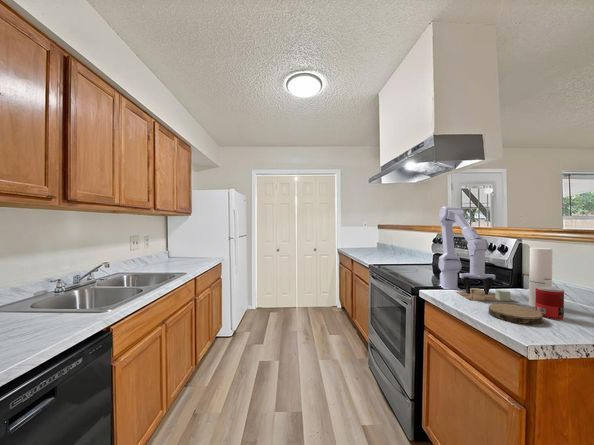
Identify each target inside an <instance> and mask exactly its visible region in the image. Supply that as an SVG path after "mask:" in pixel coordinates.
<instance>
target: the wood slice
mask: <svg viewBox="0 0 594 445" xmlns="http://www.w3.org/2000/svg"><path fill="white" fill-rule="evenodd" d="M488 314H489V316H490V317H492V318H495V319H497V320H500V321H503V322H507V323H512V324H516V325H522V326H539V325H541V324H543V317H542V314H541V313H540V312H538V311H536V310H535V309H534V308H533V309H532V308H529V307H526V306H521V305H517V304H511V303H510V304H509V303H508V304H507V303H492V304H489V305H488Z"/></svg>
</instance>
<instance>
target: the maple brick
mask: <svg viewBox="0 0 594 445" xmlns="http://www.w3.org/2000/svg"><path fill="white" fill-rule="evenodd" d="M470 297H471V298H473V299H475V300H485V291H484V289H481V288H471V287H470Z"/></svg>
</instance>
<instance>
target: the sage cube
mask: <svg viewBox="0 0 594 445" xmlns="http://www.w3.org/2000/svg"><path fill="white" fill-rule="evenodd" d="M494 293H495V298H497V299H499V300H502V301H510V299H511V291H509V290H507V289H498V288H497V289H495V292H494Z"/></svg>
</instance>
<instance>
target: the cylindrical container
mask: <svg viewBox="0 0 594 445" xmlns="http://www.w3.org/2000/svg"><path fill="white" fill-rule="evenodd" d="M528 272H529V275H528V276H529V277H528V278H529V279H528V280H529V282H528V283H529V286H528V290H529V291H528V292H529V293H528V305H529V306H532V307H534V308H535V301H536V286H540V285H541V286H552V287H553V248H549V247H529V271H528Z"/></svg>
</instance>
